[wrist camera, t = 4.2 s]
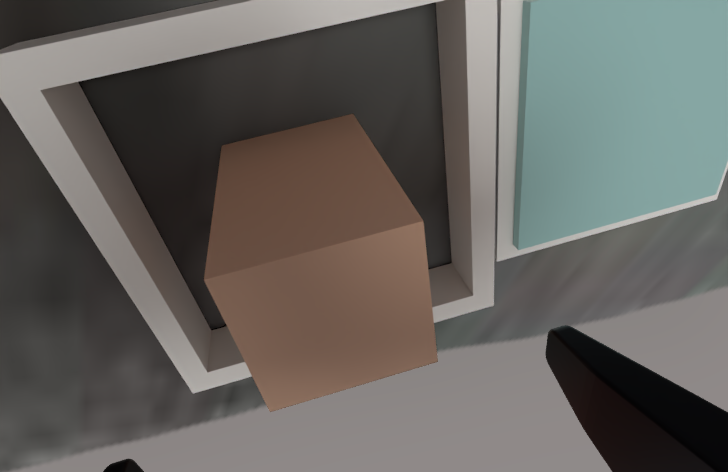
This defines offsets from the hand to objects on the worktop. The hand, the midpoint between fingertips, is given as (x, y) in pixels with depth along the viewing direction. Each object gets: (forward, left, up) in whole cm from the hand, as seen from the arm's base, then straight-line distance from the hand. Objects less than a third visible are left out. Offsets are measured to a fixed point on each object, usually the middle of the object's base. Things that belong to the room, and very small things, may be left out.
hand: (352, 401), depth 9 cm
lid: (+14, 0, -10) cm, 17 cm away
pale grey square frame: (0, 0, -10) cm, 10 cm away
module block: (0, 0, -10) cm, 10 cm away
